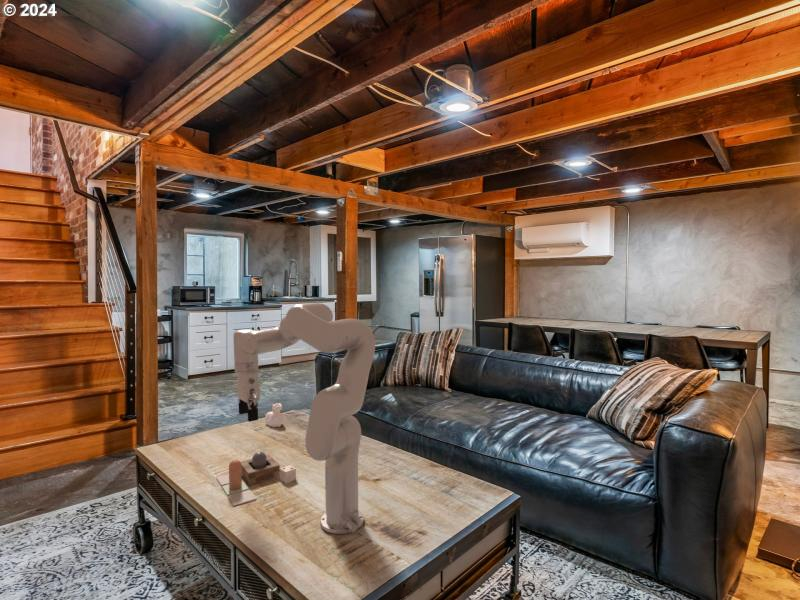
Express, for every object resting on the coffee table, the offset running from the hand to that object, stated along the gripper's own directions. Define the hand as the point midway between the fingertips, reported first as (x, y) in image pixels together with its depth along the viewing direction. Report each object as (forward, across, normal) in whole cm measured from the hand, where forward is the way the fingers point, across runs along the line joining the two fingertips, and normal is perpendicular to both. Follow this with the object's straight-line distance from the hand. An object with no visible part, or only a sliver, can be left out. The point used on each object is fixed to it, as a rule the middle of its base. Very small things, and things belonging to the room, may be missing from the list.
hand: (248, 416), depth 146 cm
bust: (+24, +56, -30) cm, 67 cm away
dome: (+22, +8, -6) cm, 25 cm away
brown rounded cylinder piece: (+24, +3, +4) cm, 25 cm away
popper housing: (+25, +8, -6) cm, 27 cm away
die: (+25, -1, -13) cm, 28 cm away
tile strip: (+25, +3, +4) cm, 25 cm away
